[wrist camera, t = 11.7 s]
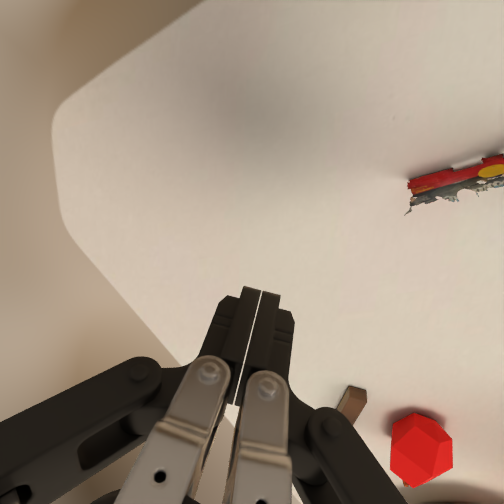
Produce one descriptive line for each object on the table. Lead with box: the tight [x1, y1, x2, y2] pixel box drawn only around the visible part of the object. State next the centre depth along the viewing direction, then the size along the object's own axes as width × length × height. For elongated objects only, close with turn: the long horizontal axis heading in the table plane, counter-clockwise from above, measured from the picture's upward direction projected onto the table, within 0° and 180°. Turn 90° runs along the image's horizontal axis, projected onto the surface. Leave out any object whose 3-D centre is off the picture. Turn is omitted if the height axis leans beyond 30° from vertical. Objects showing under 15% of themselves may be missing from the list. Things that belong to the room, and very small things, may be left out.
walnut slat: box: [337, 386, 367, 426], centre depth 43 cm, size 10×2×2 cm, turn 170°
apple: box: [390, 413, 453, 488], centre depth 40 cm, size 7×7×8 cm
